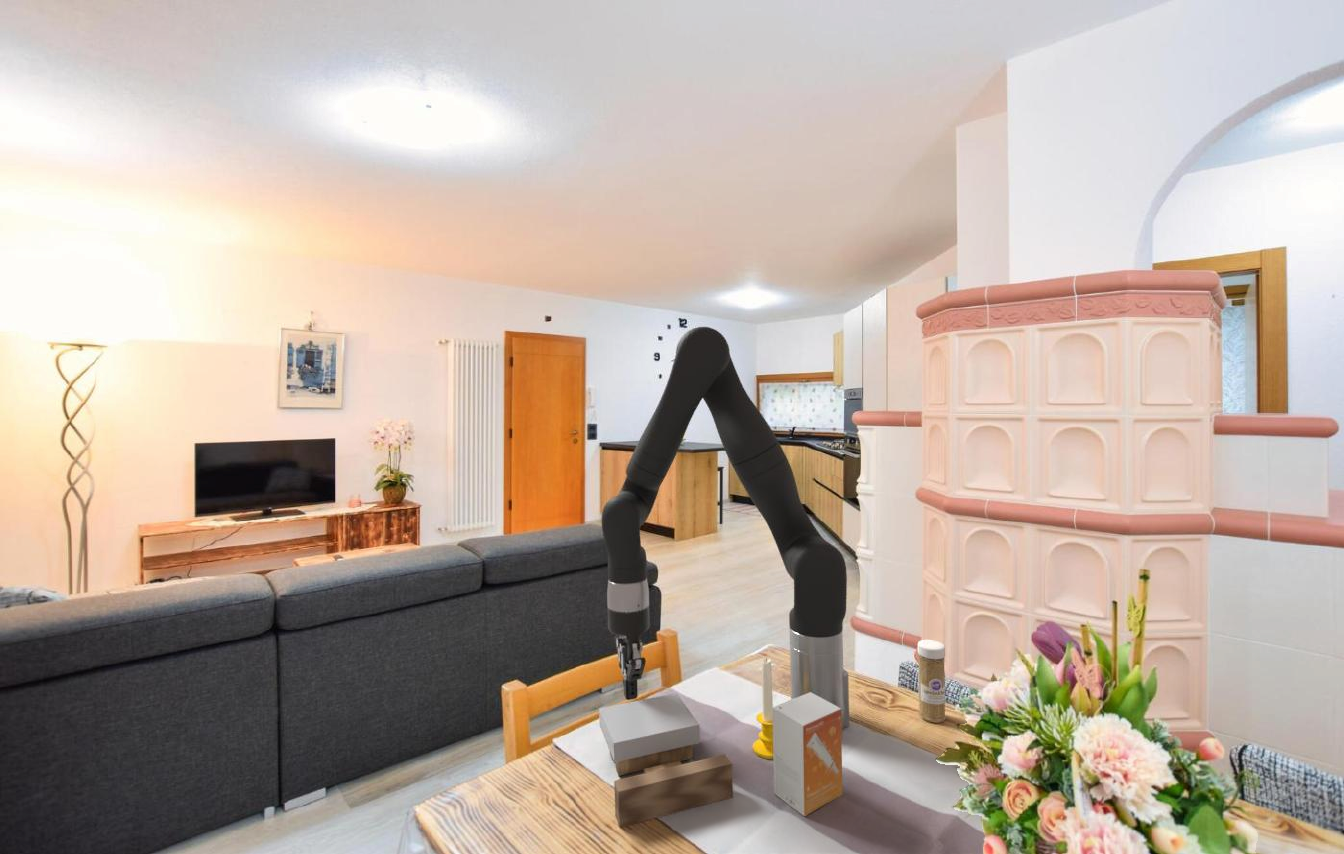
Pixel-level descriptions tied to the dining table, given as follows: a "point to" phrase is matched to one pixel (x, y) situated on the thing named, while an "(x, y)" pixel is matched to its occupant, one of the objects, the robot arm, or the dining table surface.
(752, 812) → the dining table surface
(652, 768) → the roller
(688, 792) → the rail
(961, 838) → the dining table surface
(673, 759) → the roller
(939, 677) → the sprinkles bottle
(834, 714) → the small box
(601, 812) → the dining table surface
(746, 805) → the dining table surface
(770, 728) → the candle
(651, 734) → the slab
